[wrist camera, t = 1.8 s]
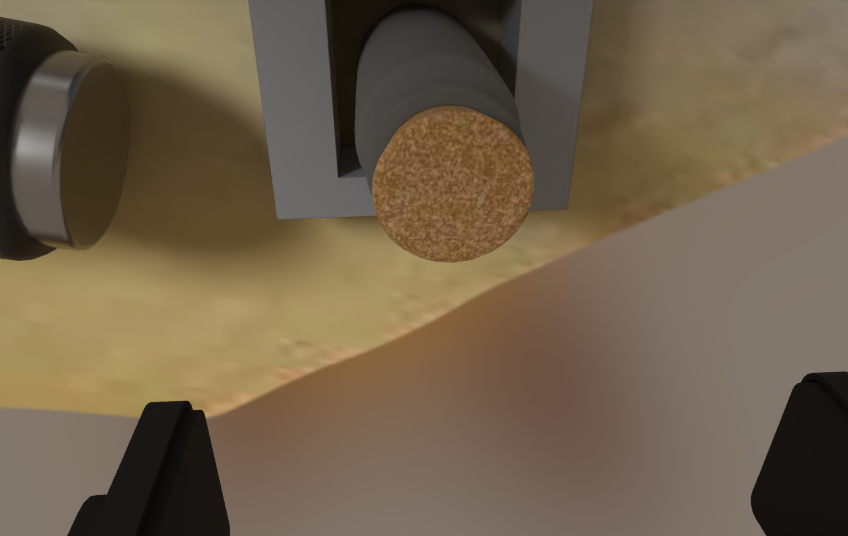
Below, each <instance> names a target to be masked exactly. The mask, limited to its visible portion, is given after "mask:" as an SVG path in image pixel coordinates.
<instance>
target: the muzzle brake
mask: <svg viewBox="0 0 848 536" xmlns="http://www.w3.org/2000/svg"><path fill="white" fill-rule="evenodd" d="M128 148H129V111H128V104H127V98H126V93H125V89H124V85H123V82H122V79H121V76H120V74H119V72H118V70H117V68H116V67H115V65H114V64H113V63H112V62H111V61H110V60H108V59H107V58H105V57H103V56H99V55H93V54H88V53H83V52H78V50H77V49H76V48H75V46H74V45H73V44H72V43H70V42H69V41H68V40H67V39H65V38H64V37H63V36H62V35H60V34H59V33H58V32H56V31H55V30H54V29H52V28H50V27H47V26H43V25H40V24H35V23H30V22H24V21H19V20H14V19H9V18H3V17H0V258H1V259H9V260H16V261H22V260H31V259H35V258H38V257H41V256H43V255H46V254H48V253H50V252H52V251H53V250H55V249H56V248H63V249H71V250H86V249H89V248H91V247H93V246H94V245H96V244H97V242H98V241H99V240H100V239H101V238H102V237H103V235H104V233H105V232H106V230H107V229H108V227H109V225H110V222H111V220H112V218H113V216H114V214H115V211H116V208H117V205H118V202H119V199H120V195H121V191H122V188H123V183H124V178H125V173H126V166H127V159H128Z"/></svg>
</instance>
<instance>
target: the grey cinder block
mask: <svg viewBox="0 0 848 536" xmlns="http://www.w3.org/2000/svg"><path fill="white" fill-rule="evenodd" d="M593 1H594V0H503V10H502V27H501V45H500V62H499V75H500V76H501V78H502V79H503V81H504V82H505V84H506V85H507V87H508V89H509V90H510V92H511V94H512V96H513V98H514V101H515V103H516V106H517V109H518V113H519V119H520V126H521V132H522V134H523V137H524V139H525V144H526V150H527V152H528V153H529V156H530V159H531V162H532V167H533V171H534V180H535V187H534V194H533V200H532V203H531V206H530V209H529V210H557V209H567V208H568V200H569V192H570V184H571V176H572V168H573V160H574V152H575V144H576V136H577V128H578V120H579V112H580V104H581V96H582V88H583V81H584V73H585V65H586V57H587V49H588V41H589V33H590V25H591V17H592V9H593ZM248 2H249V9H250V17H251V25H252V32H253V40H254V47H255V55H256V62H257V70H258V78H259V85H260V93H261V100H262V108H263V115H264V123H265V131H266V138H267V146H268V153H269V161H270V168H271V176H272V184H273V191H274V199H275V206H276V214H277V219H299V218H327V217H356V216H377V215H376V212H375V209H374V206H373V199H372V196H371V193H370V190H369V187H368V184H367V179H366V175H365V173H364V171H363V169H362V167H361V164H360V162H359V158H358V155H357V151H356V147H346V148H341V142H340V128H339V114H338V100H337V86H336V72H335V57H334V43H333V29H332V15H331V1H330V0H248Z"/></svg>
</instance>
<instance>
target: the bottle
mask: <svg viewBox="0 0 848 536" xmlns="http://www.w3.org/2000/svg"><path fill="white" fill-rule="evenodd" d="M355 144H356V151H357V155H358V158H359V162H360V164H361V167H362V169H363V171H364V173H365V175H366V179H367V184H368V187H369V190H370V193H371V196H372V199H373V206H374V209H375V212H376V215H377V218H378V220H379V222H380V224H381V226H382V227H383V229H384V230H385V232H386V233H387V234H388V235H389V237H390V238H391V239H392V240H393V241H394V242H395V243H396V244H398V245H399V246H400V247H401V248H403V249H404V250H406V251H408V252H409V253H411V254H413V255H416V256H418V257H421V258H423V259H427V260H431V261H437V262H461V261H466V260H472V259H475V258H477V257H480V256H482V255H485V254H487V253H489V252H492V251H493V250H495V249H496V248H498V247H500V246H501V245H502V244H503V243H505V242H506V241H507V240H508V239H509V238H510V237H511V236H512V235H514V233H515V232H516V231H517V230H518V228H519V227H520V226H521V224H522V223H523V221H524V219H525V218H526V216H527V214H528V212H529V209H530V206H531V203H532V200H533V194H534V187H535V180H534V171H533V167H532V162H531V159H530V156H529V153H528V152H527V150H526V144H525V139H524V137H523V134H522V132H521V126H520V119H519V113H518V109H517V106H516V103H515V101H514V98H513V96H512V94H511V92H510V90H509V89H508V87H507V85H506V84H505V82H504V81H503V79H502V78H501V76H500V75H499V73H498V72H497V70H496V69H495V67H494V66H493V65H492V63H491V62H490V60H489V59H488V57H487V56H486V55H485V53H484V52H483V50H482V49H481V47H480V46H479V45H478V43H477V42H476V40H475V39H474V38H473V36H472V35H471V34H470V32H469V31H468V30H467V29H466V27H465V26H464V25H463V24H462V23H461V22H460V21H459V20H458V19H457V18H456V17H454V16H453V15H452V14H450V13H449V12H447V11H445V10H443V9H441V8H438V7H435V6H431V5H425V4H411V5H405V6H402V7H399V8H396V9H394V10H392V11H390V12H388V13H387V14H385V15H384V16H383V17H381V18H380V19H379V20H378V21H377V22H376V23H375V24H374V25H373V26H372V28H371V29H370V30H369V32H368V33H367V35H366V37H365V39H364V41H363V44H362V46H361V50H360V55H359V59H358V70H357V86H356V107H355Z"/></svg>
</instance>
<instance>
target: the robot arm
mask: <svg viewBox="0 0 848 536" xmlns="http://www.w3.org/2000/svg"><path fill="white" fill-rule="evenodd" d="M751 507H752V511H753V514H754V516H755V518H756V520H757V521H758V523H759V524H760V526H761V528H762V529H763V531H764V533H765V534H766V536H848V372H823V373H810V374H807V375H806V376H805V377H804V378H803V380H802V381H801V383H798V384H796V385H795V386H794V388H793V390H792V393H791V395H790V398H789V400H788V403H787V405H786V408H785V410H784V413H783V416H782V418H781V420H780V423H779V426H778V428H777V431H776V433H775V436H774V438H773V441H772V443H771V446H770V449H769V451H768V453H767V456H766V459H765V461H764V464H763V466H762V469H761V471H760V474H759V476H758V479H757V481H756V484H755V486H754V489H753V491H752V495H751ZM67 536H230V526H229V520H228V516H227V511H226V507H225V502H224V498H223V494H222V489H221V485H220V480H219V476H218V471H217V467H216V462H215V458H214V454H213V449H212V445H211V440H210V436H209V431H208V427H207V422H206V418H205V414H204V412H203V410H193V409H192V406H191V404H190V402H189V401H168V402H150V403H148V404H147V405H146V407H145V408H144V410H143V412H142V415H141V417H140V419H139V422H138V424H137V426H136V429H135V431H134V433H133V435H132V438H131V440H130V442H129V445H128V447H127V449H126V452H125V454H124V457H123V459H122V461H121V464H120V466H119V468H118V470H117V473H116V475H115V477H114V479H113V482H112V484H111V487H110V489H109V491H108V493H107V495H95V496H90V497H89V498H88V499H87V500H86V501H85V502H84V503H83V505H82V507H81V509H80V510H79V512H78V514H77V516H76V518H75V520H74V522H73V525H72V527H71V529H70V531H69V533H68V535H67Z"/></svg>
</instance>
